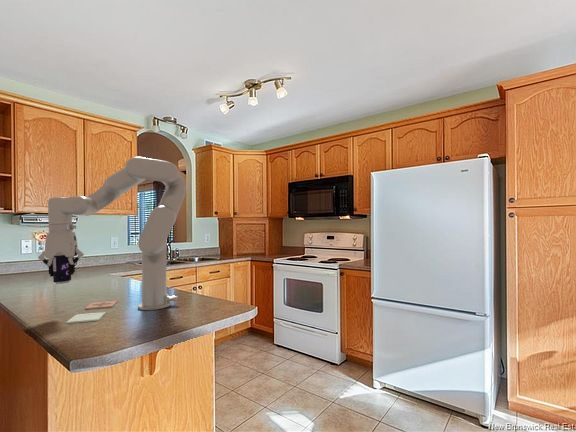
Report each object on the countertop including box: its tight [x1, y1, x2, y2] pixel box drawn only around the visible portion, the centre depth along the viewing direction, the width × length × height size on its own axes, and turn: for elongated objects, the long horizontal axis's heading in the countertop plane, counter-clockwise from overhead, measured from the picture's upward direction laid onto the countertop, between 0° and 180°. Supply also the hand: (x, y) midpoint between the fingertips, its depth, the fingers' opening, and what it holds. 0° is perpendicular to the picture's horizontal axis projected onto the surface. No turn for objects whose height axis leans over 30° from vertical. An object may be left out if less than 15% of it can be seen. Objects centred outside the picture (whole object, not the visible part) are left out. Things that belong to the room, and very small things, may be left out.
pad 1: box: [65, 311, 107, 324], centre depth 119 cm, size 10×10×1 cm
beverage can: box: [52, 252, 72, 285], centre depth 126 cm, size 6×6×12 cm
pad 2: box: [84, 300, 119, 310], centre depth 138 cm, size 10×10×1 cm
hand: (62, 274), depth 126 cm, fingers closed on beverage can, 5 cm apart
